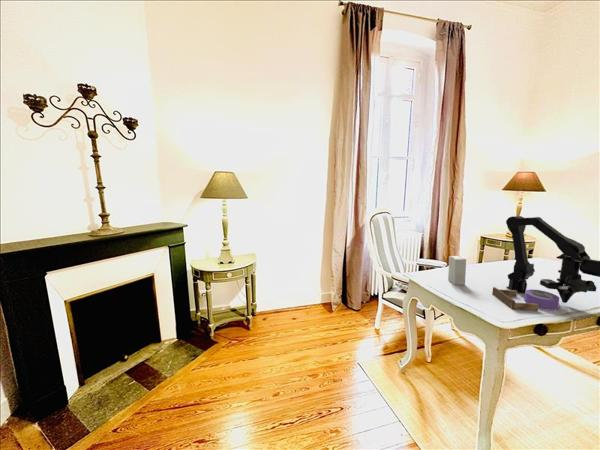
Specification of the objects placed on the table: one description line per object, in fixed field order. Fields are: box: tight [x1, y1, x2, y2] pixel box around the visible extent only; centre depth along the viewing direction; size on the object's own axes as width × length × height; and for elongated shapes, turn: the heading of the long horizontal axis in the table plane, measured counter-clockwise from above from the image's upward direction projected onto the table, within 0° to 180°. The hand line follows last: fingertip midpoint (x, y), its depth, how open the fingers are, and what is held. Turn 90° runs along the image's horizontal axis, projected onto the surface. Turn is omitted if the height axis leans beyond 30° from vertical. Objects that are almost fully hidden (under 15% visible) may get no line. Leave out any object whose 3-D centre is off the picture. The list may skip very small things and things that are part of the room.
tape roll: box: [523, 289, 560, 311], centre depth 122 cm, size 12×12×5 cm
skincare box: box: [447, 255, 467, 286], centre depth 149 cm, size 8×6×15 cm
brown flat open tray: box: [491, 286, 540, 312], centre depth 124 cm, size 10×16×4 cm, turn 170°
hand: (564, 302), depth 121 cm, fingers closed
